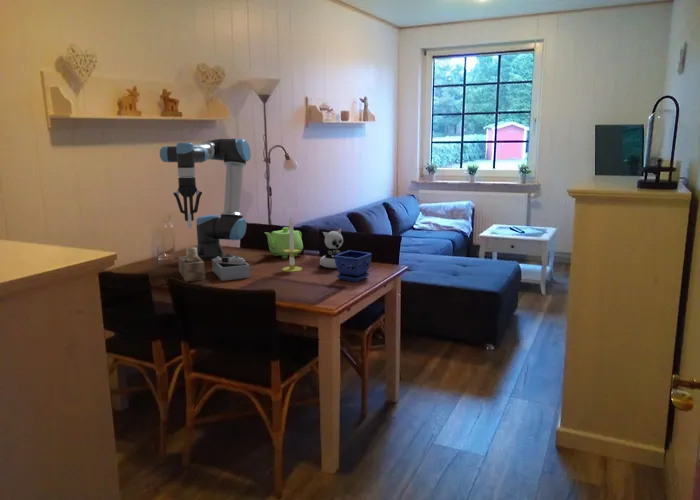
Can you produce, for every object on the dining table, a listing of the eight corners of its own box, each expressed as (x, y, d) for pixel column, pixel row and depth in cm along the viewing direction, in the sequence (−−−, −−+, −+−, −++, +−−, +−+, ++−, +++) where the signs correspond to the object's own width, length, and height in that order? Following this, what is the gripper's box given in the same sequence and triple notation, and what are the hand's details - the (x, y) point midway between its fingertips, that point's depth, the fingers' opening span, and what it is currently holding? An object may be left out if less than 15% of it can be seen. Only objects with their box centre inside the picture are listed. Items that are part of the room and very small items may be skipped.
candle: (305, 268, 280) (304, 215, 275) (295, 272, 272) (294, 218, 266) (288, 266, 285) (287, 214, 279) (278, 270, 276) (276, 216, 270)
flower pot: (358, 284, 252) (358, 258, 249) (333, 279, 259) (333, 254, 256) (372, 277, 263) (372, 252, 260) (348, 273, 270) (348, 249, 267)
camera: (251, 272, 272) (250, 252, 269) (243, 276, 263) (242, 256, 261) (222, 270, 276) (221, 250, 274) (213, 274, 268) (212, 254, 266)
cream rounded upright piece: (196, 262, 265) (195, 246, 264) (198, 264, 261) (197, 248, 259) (186, 263, 263) (185, 247, 262) (187, 265, 259) (186, 249, 257)
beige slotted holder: (197, 269, 278) (196, 253, 276) (205, 279, 260) (204, 261, 258) (178, 271, 274) (177, 255, 272) (185, 281, 256) (184, 263, 255)
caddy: (239, 267, 281) (238, 256, 280) (250, 277, 263) (249, 265, 262) (212, 270, 275) (211, 259, 274) (221, 280, 257) (220, 268, 256)
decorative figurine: (324, 270, 276) (323, 230, 272) (316, 263, 290) (315, 225, 286) (352, 267, 281) (352, 229, 277) (343, 261, 295) (343, 224, 290)
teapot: (287, 249, 325) (286, 222, 322) (310, 255, 310) (310, 227, 306) (251, 255, 309) (250, 227, 305) (273, 262, 293) (272, 232, 290)
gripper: (199, 175, 260) (202, 225, 264) (170, 176, 254) (174, 227, 259) (202, 177, 253) (205, 228, 258) (173, 177, 247) (176, 230, 252)
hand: (189, 227), depth 258 cm, fingers closed
